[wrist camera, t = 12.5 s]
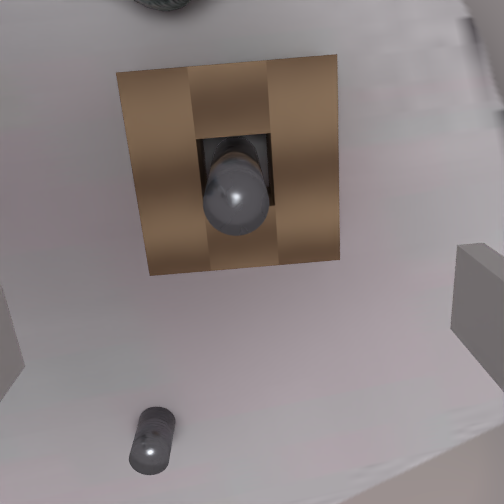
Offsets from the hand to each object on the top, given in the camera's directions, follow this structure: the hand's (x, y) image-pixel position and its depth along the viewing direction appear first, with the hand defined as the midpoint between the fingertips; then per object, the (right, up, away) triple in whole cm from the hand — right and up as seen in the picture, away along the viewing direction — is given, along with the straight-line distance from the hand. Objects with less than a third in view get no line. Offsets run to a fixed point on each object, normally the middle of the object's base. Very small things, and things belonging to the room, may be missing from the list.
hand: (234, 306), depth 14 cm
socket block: (-1, +9, +24) cm, 26 cm away
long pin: (-1, +9, +24) cm, 26 cm away
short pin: (-9, -15, +33) cm, 37 cm away
